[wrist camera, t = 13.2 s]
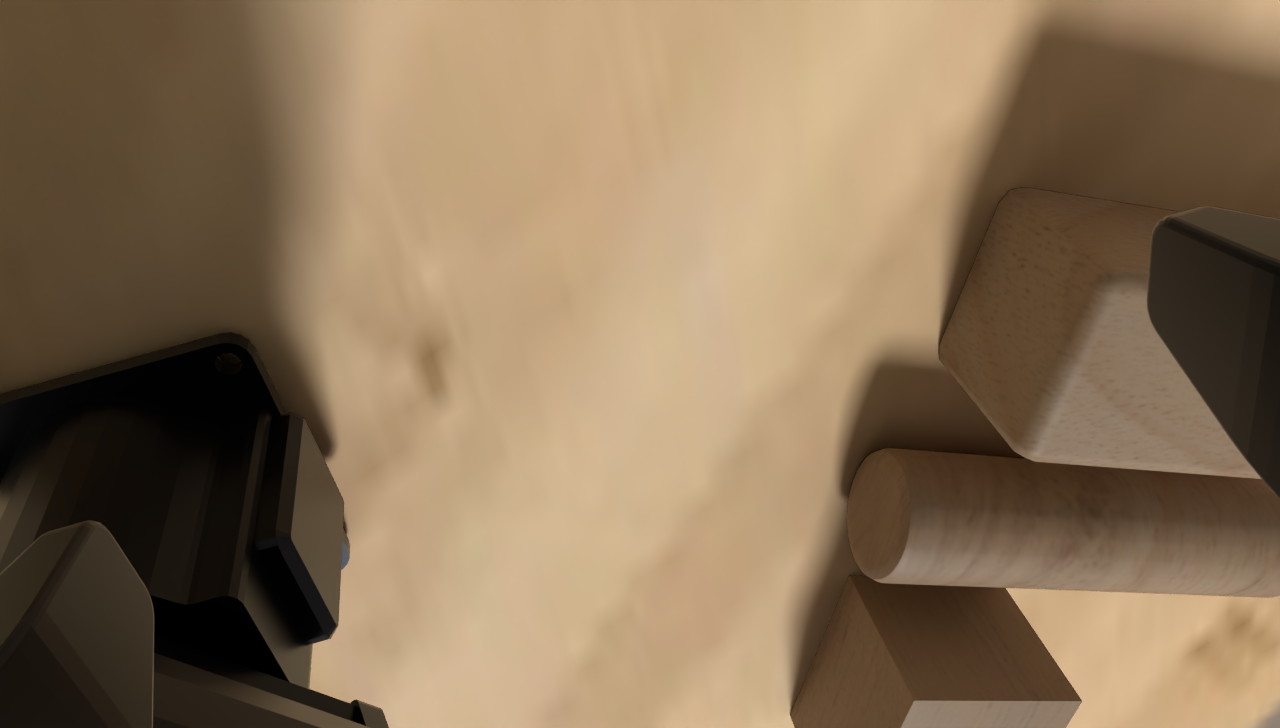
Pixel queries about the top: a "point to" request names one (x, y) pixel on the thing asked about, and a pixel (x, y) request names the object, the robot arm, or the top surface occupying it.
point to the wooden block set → (1037, 486)
